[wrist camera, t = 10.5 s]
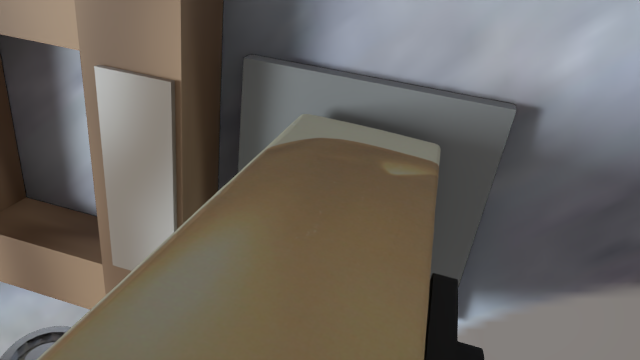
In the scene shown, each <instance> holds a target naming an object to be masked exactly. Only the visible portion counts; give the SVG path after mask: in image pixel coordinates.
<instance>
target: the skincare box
mask: <svg viewBox="0 0 640 360" xmlns="http://www.w3.org/2000/svg"><path fill="white" fill-rule="evenodd" d="M440 150H441V149H440V146H439V145H437V144H435V143H431V142H427V141H423V140H419V139H415V138H411V137H407V136H403V135H400V134H396V133H391V132H387V131H383V130H379V129H375V128H370V127H366V126H362V125H358V124H353V123H349V122H344V121H339V120H335V119H330V118H326V117H321V116H316V115H311V114H303V115H301V116H299V117H298V118H297V119H296V120H295V121H294V122H293V123H292V124H291V125H290V126H289V127H287V128H286V129H285V130H284V131H283V132H282V133H281V134H280V135H279V136H278V137H277V138H276V139H274V140H273V141H272V142H271V143H270V144H269V145H268V146H267V147H266V148H265V149H264V150H263V151H261V152H260V153H259V154H258V155H257V156H256V157H255V158H254V159H253V160H252V161H251V162H249V163H248V164H247V165H246V166H245V167H244V168H243V169H242V170H241V171H240V172H239V173H238V174H237V175H235V176H234V177H233V178H232V179H231V180H230V181H229V182H228V183H227V184H226V185H225V186H223V187H222V188H221V189H220V190H219V191H218V192H217V193H216V194H215V195H213V196H212V197H211V198H210V199H209V200H208V201H207V202H206V203H205V204H204V205H203V206H202V207H201V208H200V209H198V210H197V211H196V212H195V213H194V214H193V215H192V216H191V217H190V218H189V219H188V220H187V221H186V222H184V223H183V224H182V225H181V226H180V227H179V228H178V229H177V230H176V231H175V232H174V233H173V234H171V235H170V236H169V237H168V238H167V239H166V240H165V241H164V242H163V243H162V244H161V245H159V246H158V247H157V248H156V249H155V250H154V251H153V252H152V253H151V254H150V255H149V256H148V257H146V258H145V259H144V260H143V261H142V262H141V263H140V264H139V265H138V266H137V267H136V268H135V269H134V270H133V271H131V272H130V273H129V274H128V275H127V276H126V277H125V278H124V279H123V280H122V281H121V282H120V283H119V284H118V285H117V286H116V287H114V288H113V289H112V290H111V291H110V292H109V293H108V294H107V295H106V296H105V297H104V298H103V299H101V300H100V301H99V302H98V303H97V304H96V305H95V306H94V307H93V308H92V309H91V310H90V311H89V312H87V313H86V314H85V315H84V316H83V317H82V318H81V319H80V320H79V321H78V322H77V323H76V324H75V325H73V326H72V327H71V328H70V329H69V330H68V331H67V332H66V333H65V334H64V335H63V336H62V337H60V338H59V339H58V340H57V341H56V342H55V343H54V344H53V345H52V346H51V347H50V348H49V349H48V350H46V351H45V352H44V353H43V354H42V355H41V356H40V357H39V358H38V359H37V360H424V351H425V338H426V326H427V314H428V302H429V285H430V272H431V259H432V247H433V236H434V220H435V207H436V196H437V187H438V175H439V162H440Z"/></svg>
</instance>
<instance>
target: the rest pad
mask: <svg viewBox="0 0 640 360" xmlns="http://www.w3.org/2000/svg"><path fill="white" fill-rule="evenodd" d="M515 113H516V107H515V105H514V104H510V103H505V102H500V101H495V100H489V99H484V98H479V97H474V96H468V95H463V94H458V93H453V92H447V91H442V90H437V89H432V88H426V87H421V86H416V85H411V84H405V83H400V82H395V81H390V80H384V79H379V78H374V77H368V76H363V75H358V74H353V73H347V72H342V71H337V70H332V69H326V68H321V67H316V66H311V65H305V64H300V63H295V62H290V61H284V60H279V59H274V58H269V57H263V56H258V55H253V54H251V55H248V56H246V57H244V60H243V79H242V99H241V119H240V139H239V159H238V173H239V172H240V171H241V170H242V169H243V168H244V167H245V166H246V165H247V164H248V163H249V162H251V161H252V160H253V159H254V158H255V157H256V156H257V155H258V154H259V153H260V152H261V151H263V150H264V149H265V148H266V147H267V146H268V145H269V144H270V143H271V142H272V141H273V140H274V139H276V138H277V137H278V136H279V135H280V134H281V133H282V132H283V131H284V130H285V129H286V128H287V127H289V126H290V125H291V124H292V123H293V122H294V121H295V120H296V119H297V118H298V117H299V116H301V115H303V114H311V115H316V116H321V117H326V118H330V119H335V120H339V121H344V122H349V123H353V124H358V125H362V126H366V127H370V128H375V129H379V130H383V131H387V132H391V133H396V134H400V135H403V136H407V137H411V138H415V139H419V140H423V141H427V142H431V143H435V144H437V145H439V146H440V149H441V150H440V162H439V175H438V187H437V196H436V207H435V220H434V236H433V247H432V259H431V272H430V279H431V276H432V274H433V273H436V274H440V275H444V276H447V277H451V278H455V279H457V280H458V287H459V284H460V280H461V277H462V274H463V271H464V268H465V265H466V262H467V259H468V256H469V253H470V250H471V247H472V244H473V241H474V238H475V235H476V232H477V229H478V226H479V223H480V220H481V217H482V214H483V211H484V208H485V205H486V201H487V198H488V195H489V192H490V189H491V186H492V183H493V180H494V177H495V174H496V171H497V168H498V165H499V162H500V159H501V156H502V153H503V150H504V147H505V144H506V141H507V138H508V135H509V132H510V129H511V126H512V123H513V119H514V116H515Z"/></svg>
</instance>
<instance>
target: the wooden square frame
mask: <svg viewBox="0 0 640 360" xmlns="http://www.w3.org/2000/svg"><path fill="white" fill-rule="evenodd" d="M222 29H223V0H0V34H1V35H6V36H11V37H16V38H21V39H26V40H31V41H36V42H40V43H45V44H50V45H55V46H60V47H65V48H70V49H75V50H80V59H81V68H82V78H83V87H84V97H85V106H86V115H87V125H88V134H89V144H90V153H91V162H92V172H93V181H94V191H95V200H96V209H97V217H96V216H92V215H89V214H85V213H82V212H78V211H74V210H71V209H67V208H63V207H60V206H56V205H52V204H49V203H45V202H41V201H38V200H34V199H30V198H27V197H26V193H25V187H24V182H23V176H22V171H21V166H20V160H19V155H18V149H17V144H16V138H15V133H14V127H13V122H12V116H11V111H10V105H9V100H8V94H7V89H6V83H5V78H4V72H3V67H2V62H1V56H0V281H1V282H4V283H8V284H11V285H14V286H17V287H20V288H24V289H27V290H30V291H33V292H36V293H39V294H43V295H46V296H49V297H52V298H55V299H58V300H62V301H65V302H68V303H71V304H74V305H77V306H81V307H84V308H87V309H90V310H91V309H92V308H93V307H94V306H95V305H96V304H97V303H98V302H99V301H100V300H101V299H103V298H104V297H105V296H106V295H107V294H108V293H109V292H110V291H111V290H112V289H113V288H114V287H116V286H117V285H118V284H119V283H120V282H121V281H122V280H123V279H124V278H125V277H126V276H127V275H128V274H129V273H130V272H131V271H133V270H134V269H135V268H136V267H137V266H138V265H139V264H140V263H141V262H142V261H143V260H144V259H145V258H146V257H148V256H149V255H150V254H151V253H152V252H153V251H154V250H155V249H156V248H157V247H158V246H159V245H161V244H162V243H163V242H164V241H165V240H166V239H167V238H168V237H169V236H170V235H171V234H173V233H174V232H175V231H176V230H177V229H178V228H179V227H180V226H181V225H182V224H183V223H184V222H186V221H187V220H188V219H189V218H190V217H191V216H192V215H193V214H194V213H195V212H196V211H197V210H198V209H200V208H201V207H202V206H203V205H204V204H205V203H206V202H207V201H208V200H209V199H210V198H211V197H212V196H213V195H215V194H216V193H217V192H218V165H219V131H220V97H221V63H222Z"/></svg>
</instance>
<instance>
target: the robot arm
mask: <svg viewBox="0 0 640 360" xmlns="http://www.w3.org/2000/svg"><path fill="white" fill-rule="evenodd" d="M457 326H458V280H457V279H455V278H451V277H447V276H444V275H440V274H436V273H433V274H432V276H431V279H430V285H429V302H428V314H427V326H426V338H425V351H424V360H484V354H483V350H482V349H481V348H479V347H475V346H472V345H468V344H464V343H461V342H458V341H457ZM70 328H71V327H68V326H53V327H48V328H43V329H40V330H37V331H34V332H32V333H29V334H27V335H26V336H24V337H22V338H21V339H19V340H18V341H16V342H15V343H14V344H13V345H12V346H11V347H10V348H9V349H8V350H7V351H6V352H5V353H4V354H3V355H2V357H1V358H0V360H37V359H38V358H39V357H40V356H41V355H42V354H43V353H44V352H45V351H46V350H48V349H49V348H50V347H51V346H52V345H53V344H54V343H55V342H56V341H57V340H58V339H59V338H60V337H62V336H63V335H64V334H65V333H66V332H67V331H68V330H69V329H70Z"/></svg>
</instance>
